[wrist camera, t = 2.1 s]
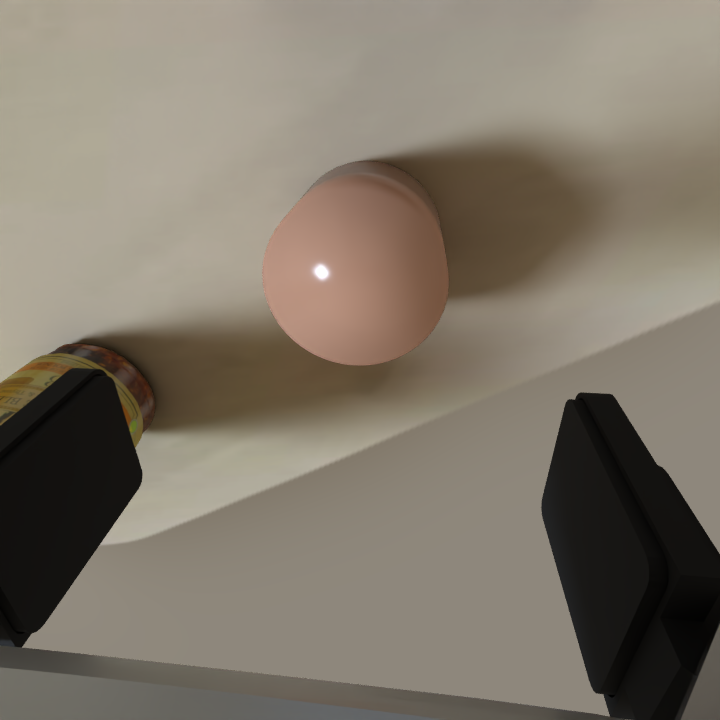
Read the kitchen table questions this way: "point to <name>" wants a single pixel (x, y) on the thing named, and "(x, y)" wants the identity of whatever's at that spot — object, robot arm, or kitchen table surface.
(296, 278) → the terracotta cylinder
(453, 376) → the kitchen table surface
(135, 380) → the sauce bottle
